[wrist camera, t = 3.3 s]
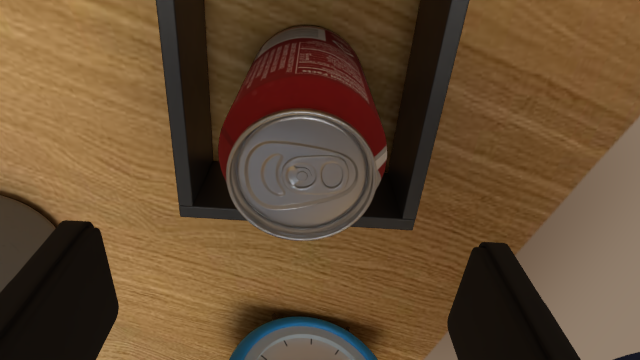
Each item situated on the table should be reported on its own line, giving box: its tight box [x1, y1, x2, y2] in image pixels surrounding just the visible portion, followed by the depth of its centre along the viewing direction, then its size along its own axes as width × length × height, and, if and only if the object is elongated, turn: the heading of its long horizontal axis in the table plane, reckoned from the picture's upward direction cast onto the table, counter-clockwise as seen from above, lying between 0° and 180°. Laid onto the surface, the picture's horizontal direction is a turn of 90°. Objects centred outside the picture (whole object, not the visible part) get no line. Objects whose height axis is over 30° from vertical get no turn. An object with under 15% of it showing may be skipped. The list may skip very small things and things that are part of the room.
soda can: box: [218, 26, 387, 241], centre depth 20 cm, size 7×7×12 cm
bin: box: [156, 0, 469, 230], centre depth 23 cm, size 14×14×6 cm
